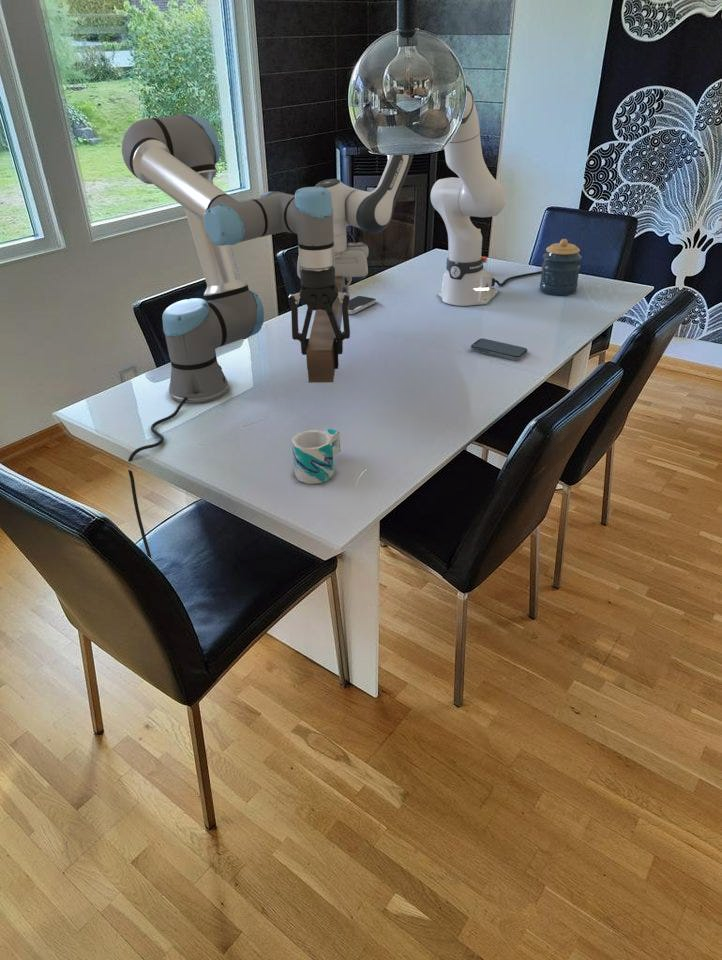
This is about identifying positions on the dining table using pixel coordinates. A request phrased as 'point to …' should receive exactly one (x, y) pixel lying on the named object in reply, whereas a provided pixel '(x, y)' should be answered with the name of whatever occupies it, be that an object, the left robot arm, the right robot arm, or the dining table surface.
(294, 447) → the mug
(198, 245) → the left robot arm
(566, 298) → the dining table surface
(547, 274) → the canister
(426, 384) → the dining table surface
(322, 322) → the beam
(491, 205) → the right robot arm
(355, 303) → the smartphone
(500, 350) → the smartphone
